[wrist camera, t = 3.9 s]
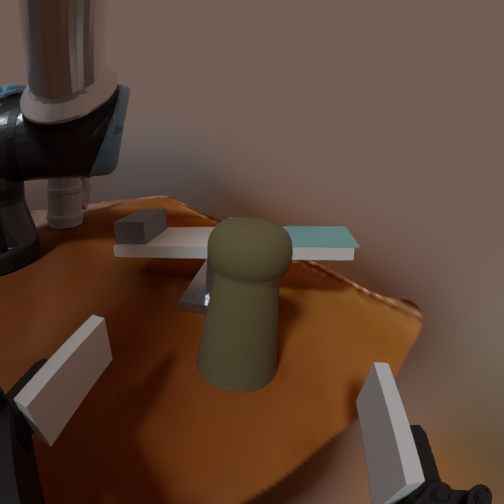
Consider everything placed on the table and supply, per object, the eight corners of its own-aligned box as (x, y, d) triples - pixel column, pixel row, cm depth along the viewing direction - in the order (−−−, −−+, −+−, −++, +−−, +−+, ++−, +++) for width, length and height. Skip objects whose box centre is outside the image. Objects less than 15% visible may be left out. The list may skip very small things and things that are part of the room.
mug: (39, 227, 44) (36, 162, 40) (75, 212, 55) (75, 155, 51) (67, 232, 43) (65, 161, 39) (103, 215, 54) (103, 155, 50)
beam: (114, 256, 29) (109, 223, 28) (142, 237, 36) (139, 209, 35) (358, 260, 27) (361, 222, 25) (344, 237, 33) (346, 206, 32)
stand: (179, 309, 28) (179, 244, 25) (208, 262, 39) (212, 213, 36) (252, 322, 27) (260, 255, 25) (262, 270, 38) (268, 220, 36)
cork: (182, 353, 22) (183, 213, 18) (243, 331, 26) (258, 207, 22) (228, 404, 18) (244, 244, 14) (292, 370, 21) (324, 231, 17)
